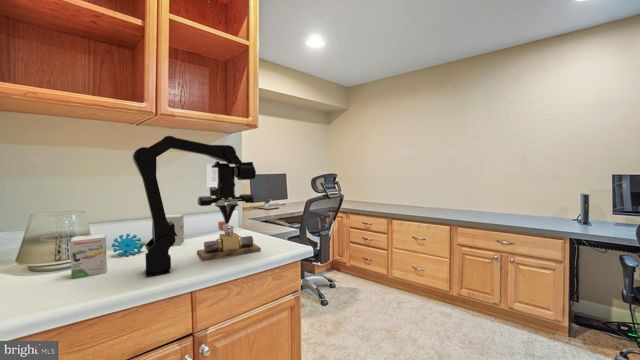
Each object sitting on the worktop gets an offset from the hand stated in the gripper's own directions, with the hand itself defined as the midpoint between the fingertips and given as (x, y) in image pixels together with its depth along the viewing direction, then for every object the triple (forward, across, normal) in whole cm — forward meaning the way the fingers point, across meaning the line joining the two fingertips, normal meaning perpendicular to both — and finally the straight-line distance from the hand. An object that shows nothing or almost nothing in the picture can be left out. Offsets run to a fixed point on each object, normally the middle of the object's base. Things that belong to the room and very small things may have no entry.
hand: (226, 223), depth 104 cm
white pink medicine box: (+13, +40, -8) cm, 43 cm away
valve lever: (+6, -3, -13) cm, 14 cm away
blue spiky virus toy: (+13, +30, -27) cm, 43 cm away
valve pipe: (+13, -3, -8) cm, 15 cm away
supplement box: (+13, +14, -34) cm, 40 cm away
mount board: (+13, -3, -8) cm, 15 cm away
